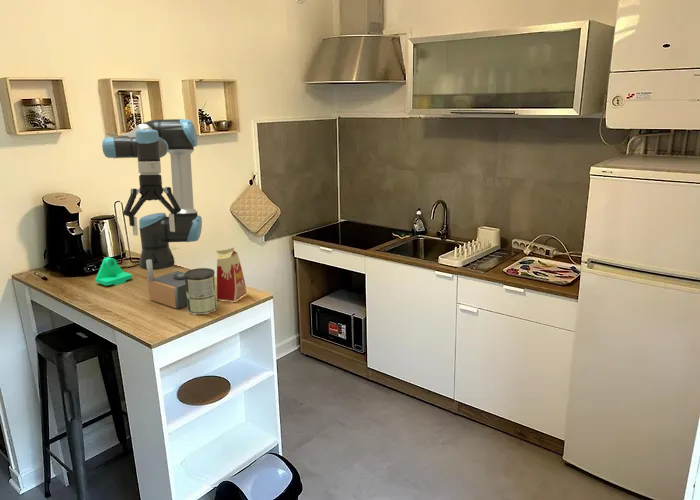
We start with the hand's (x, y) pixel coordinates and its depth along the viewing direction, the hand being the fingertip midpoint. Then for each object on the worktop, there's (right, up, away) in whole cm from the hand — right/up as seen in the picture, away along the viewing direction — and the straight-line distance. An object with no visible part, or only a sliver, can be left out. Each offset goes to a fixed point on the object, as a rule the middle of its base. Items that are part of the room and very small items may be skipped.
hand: (154, 233), depth 194 cm
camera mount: (-26, -20, +28) cm, 43 cm away
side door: (+2, -26, +3) cm, 26 cm away
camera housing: (+6, -24, +9) cm, 27 cm away
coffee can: (+18, -28, -2) cm, 33 cm away
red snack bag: (+26, -24, +10) cm, 37 cm away
